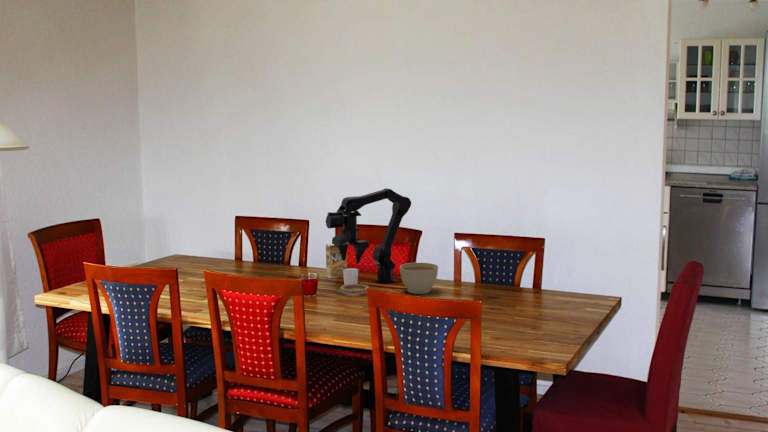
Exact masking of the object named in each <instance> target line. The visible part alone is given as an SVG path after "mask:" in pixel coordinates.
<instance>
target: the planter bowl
mask: <svg viewBox="0 0 768 432" xmlns="http://www.w3.org/2000/svg"><path fill="white" fill-rule="evenodd" d="M399 271H400V277H401V280H402V283H403V285H404V286H405V288H406V289H407V292H408V293H410V294H414V295H422V294H429V293H430V292H431V290H432V288H433V286H434V285H435V283H436V280H437V277H438V273H439V266H438V265H437V264H434V263H430V262H409V263H404V264H401V265H400V266H399Z"/></svg>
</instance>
